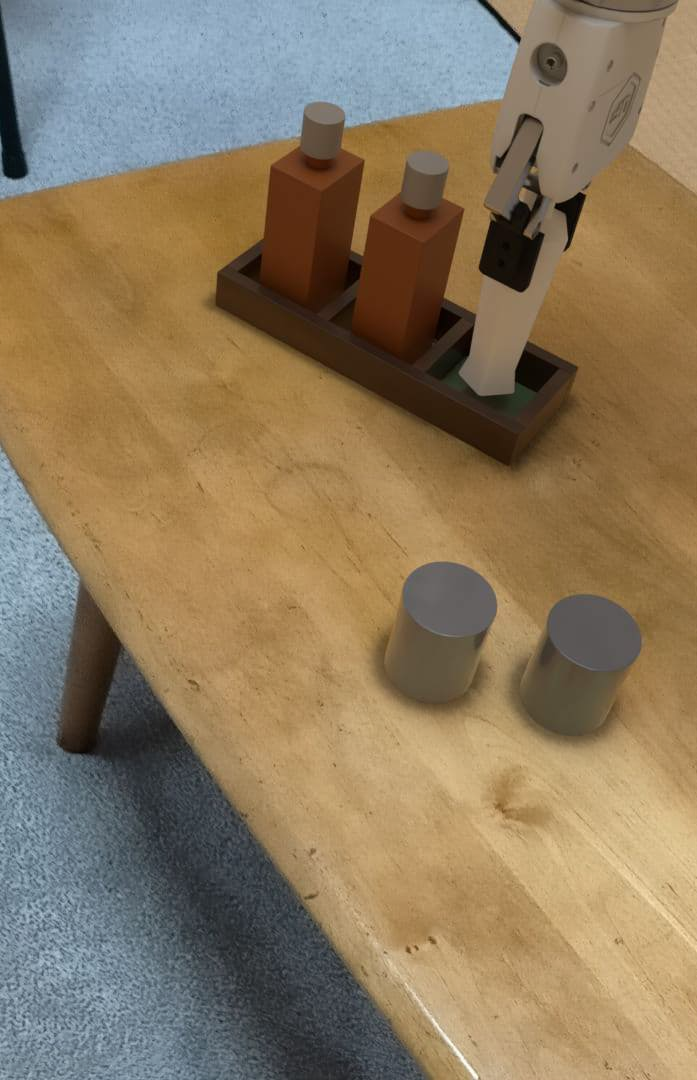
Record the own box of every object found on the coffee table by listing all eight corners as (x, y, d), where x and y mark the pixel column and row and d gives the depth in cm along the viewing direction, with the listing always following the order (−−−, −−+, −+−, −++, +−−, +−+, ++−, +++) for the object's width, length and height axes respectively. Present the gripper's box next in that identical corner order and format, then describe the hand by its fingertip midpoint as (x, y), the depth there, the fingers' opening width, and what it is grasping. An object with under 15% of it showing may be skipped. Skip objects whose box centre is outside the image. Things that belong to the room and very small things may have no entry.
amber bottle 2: (432, 348, 87) (476, 159, 75) (394, 384, 84) (435, 192, 72) (384, 323, 88) (421, 133, 77) (345, 357, 85) (378, 165, 74)
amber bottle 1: (342, 301, 89) (373, 110, 78) (302, 334, 86) (328, 140, 75) (297, 277, 90) (321, 85, 79) (256, 309, 87) (275, 114, 76)
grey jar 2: (618, 700, 70) (657, 626, 64) (579, 761, 67) (617, 688, 61) (541, 654, 71) (573, 578, 66) (499, 712, 68) (530, 636, 63)
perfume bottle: (445, 387, 81) (495, 189, 70) (465, 348, 84) (517, 152, 72) (511, 411, 80) (572, 215, 69) (529, 371, 83) (591, 177, 72)
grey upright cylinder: (486, 670, 70) (514, 593, 65) (441, 729, 67) (467, 653, 62) (411, 624, 71) (433, 546, 66) (364, 681, 68) (383, 603, 63)
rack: (285, 261, 92) (290, 218, 89) (564, 408, 85) (579, 367, 83) (214, 315, 87) (216, 271, 84) (505, 476, 80) (518, 434, 77)
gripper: (606, 44, 55) (510, 357, 69) (743, -64, 65) (636, 227, 79) (463, -18, 57) (398, 298, 71) (617, -113, 67) (534, 179, 81)
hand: (524, 258), depth 75 cm, fingers closed on perfume bottle, 4 cm apart
